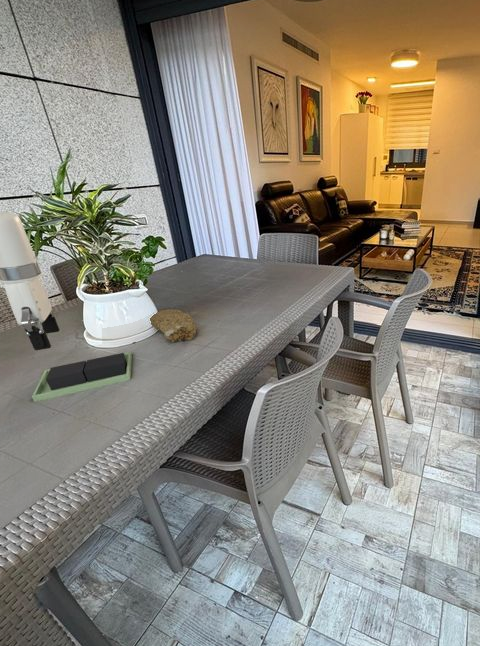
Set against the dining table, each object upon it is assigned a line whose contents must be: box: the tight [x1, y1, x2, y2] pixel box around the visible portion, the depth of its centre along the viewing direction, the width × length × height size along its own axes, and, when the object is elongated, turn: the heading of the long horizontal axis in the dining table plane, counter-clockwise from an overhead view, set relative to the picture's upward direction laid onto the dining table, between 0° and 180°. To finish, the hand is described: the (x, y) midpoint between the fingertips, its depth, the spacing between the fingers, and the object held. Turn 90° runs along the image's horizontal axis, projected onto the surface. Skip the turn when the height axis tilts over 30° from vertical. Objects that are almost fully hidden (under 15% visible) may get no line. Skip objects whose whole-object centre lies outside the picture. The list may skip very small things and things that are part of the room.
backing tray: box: [31, 351, 133, 403], centre depth 94 cm, size 21×13×2 cm, turn 113°
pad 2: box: [84, 352, 127, 382], centre depth 95 cm, size 9×6×4 cm, turn 114°
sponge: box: [150, 308, 197, 343], centre depth 116 cm, size 13×8×20 cm
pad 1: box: [46, 360, 88, 390], centre depth 92 cm, size 8×6×4 cm
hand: (48, 340), depth 86 cm, fingers open, 9 cm apart
